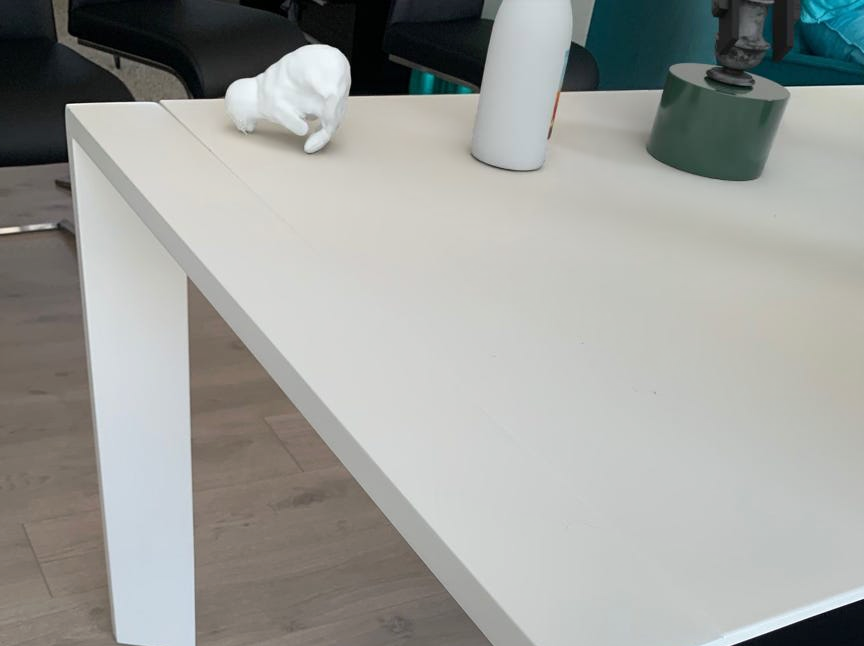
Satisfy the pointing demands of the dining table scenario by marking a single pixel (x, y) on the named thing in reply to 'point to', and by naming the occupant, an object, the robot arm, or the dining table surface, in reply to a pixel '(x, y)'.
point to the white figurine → (295, 94)
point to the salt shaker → (743, 45)
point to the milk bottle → (522, 83)
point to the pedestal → (716, 123)
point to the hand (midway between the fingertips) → (755, 50)
